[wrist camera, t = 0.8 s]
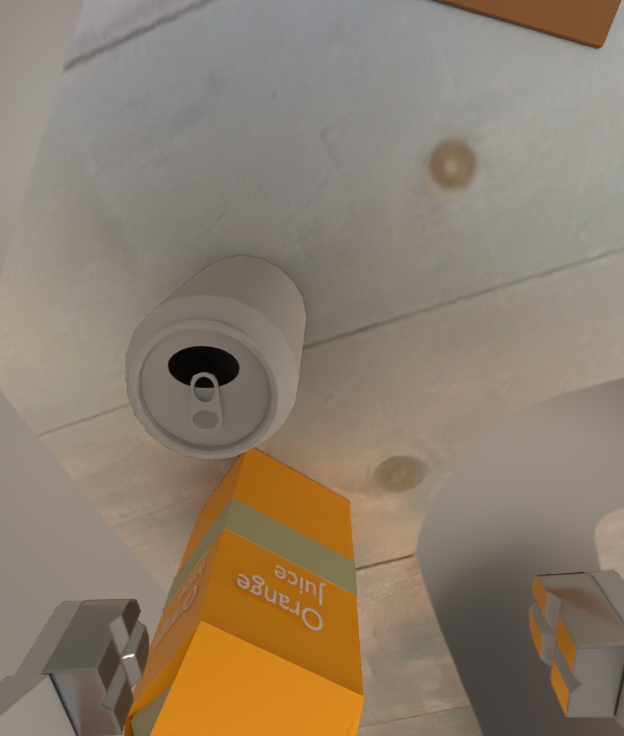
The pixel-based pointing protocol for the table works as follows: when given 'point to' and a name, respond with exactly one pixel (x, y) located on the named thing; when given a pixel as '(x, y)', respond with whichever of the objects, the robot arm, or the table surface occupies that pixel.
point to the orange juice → (258, 616)
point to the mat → (552, 16)
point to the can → (219, 360)
